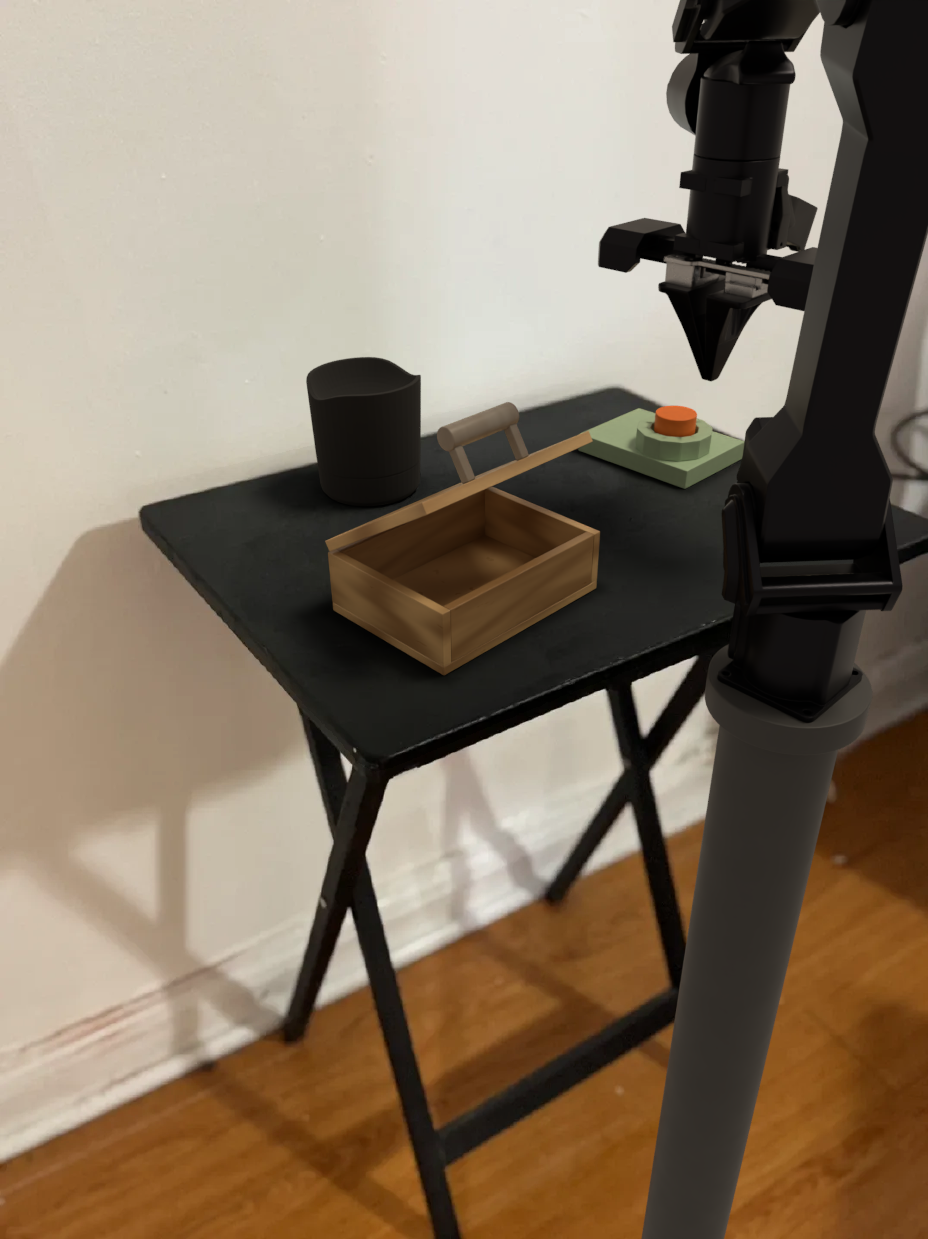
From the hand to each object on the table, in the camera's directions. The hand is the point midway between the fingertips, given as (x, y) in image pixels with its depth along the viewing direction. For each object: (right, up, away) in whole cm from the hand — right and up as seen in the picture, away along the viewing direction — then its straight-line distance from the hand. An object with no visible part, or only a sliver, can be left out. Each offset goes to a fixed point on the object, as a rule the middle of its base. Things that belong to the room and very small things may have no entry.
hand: (710, 379), depth 79 cm
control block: (-1, -3, +18) cm, 18 cm away
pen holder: (-27, -7, +13) cm, 30 cm away
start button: (0, -1, +14) cm, 14 cm away
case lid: (-19, -10, -8) cm, 22 cm away
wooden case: (-18, -17, -4) cm, 25 cm away
